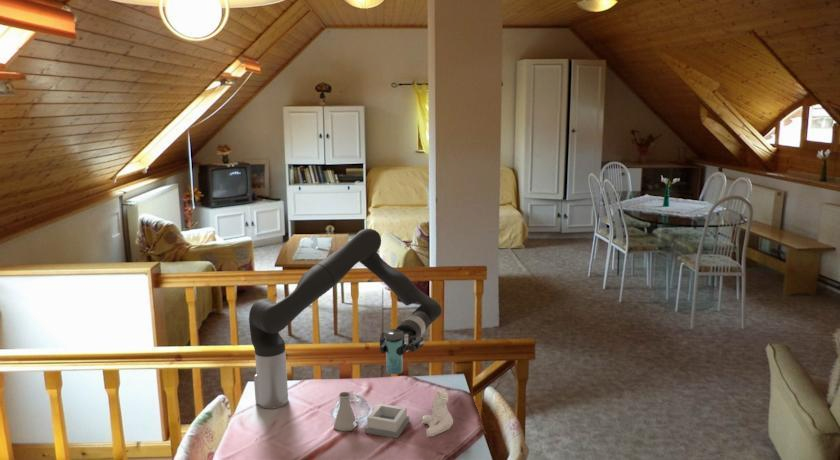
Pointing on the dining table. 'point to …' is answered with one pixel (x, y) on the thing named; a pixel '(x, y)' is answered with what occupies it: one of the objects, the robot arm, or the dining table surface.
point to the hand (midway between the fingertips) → (391, 351)
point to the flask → (344, 414)
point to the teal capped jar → (393, 351)
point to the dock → (387, 421)
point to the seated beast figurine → (438, 415)
